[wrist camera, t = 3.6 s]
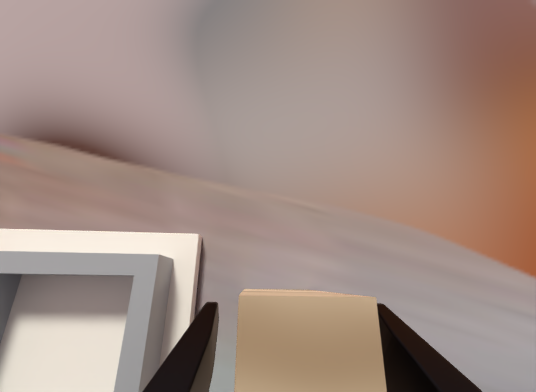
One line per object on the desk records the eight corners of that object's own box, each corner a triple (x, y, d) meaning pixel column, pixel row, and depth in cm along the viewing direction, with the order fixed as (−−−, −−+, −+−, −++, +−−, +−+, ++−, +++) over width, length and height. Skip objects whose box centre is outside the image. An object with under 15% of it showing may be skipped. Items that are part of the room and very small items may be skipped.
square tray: (178, 479, 13) (151, 554, 9) (-76, 487, 12) (-210, 572, 8) (202, 237, 17) (189, 224, 13) (12, 232, 16) (-55, 217, 12)
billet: (311, 364, 15) (396, 474, 6) (241, 364, 14) (230, 480, 6) (308, 289, 16) (376, 297, 7) (244, 288, 16) (239, 296, 7)
